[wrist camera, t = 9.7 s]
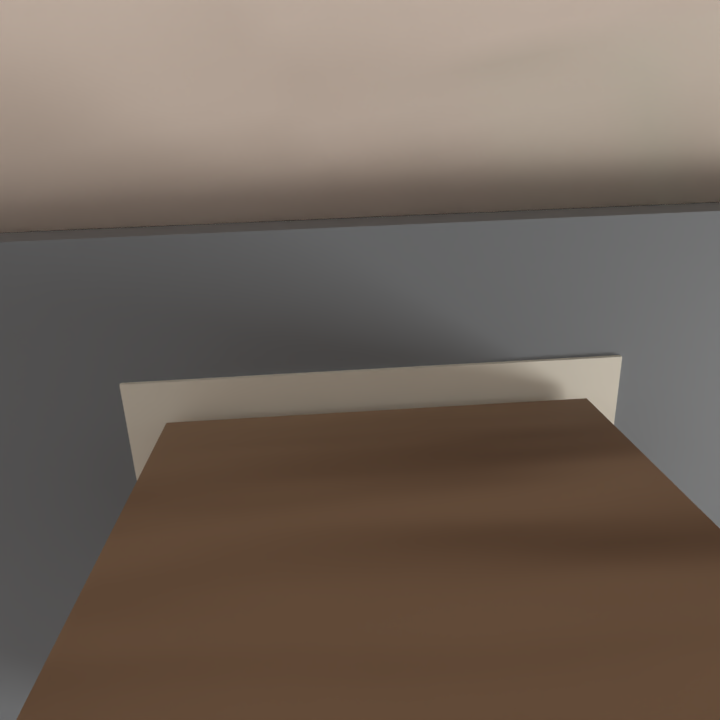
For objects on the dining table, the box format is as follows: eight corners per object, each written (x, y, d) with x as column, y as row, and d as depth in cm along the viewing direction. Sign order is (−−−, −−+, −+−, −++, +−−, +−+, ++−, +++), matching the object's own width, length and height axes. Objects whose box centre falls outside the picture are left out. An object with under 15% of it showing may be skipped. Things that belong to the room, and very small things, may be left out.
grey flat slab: (-113, 238, 12) (-164, 250, 10) (810, 198, 12) (863, 205, 11) (52, 793, 17) (31, 845, 16) (694, 736, 18) (723, 780, 16)
